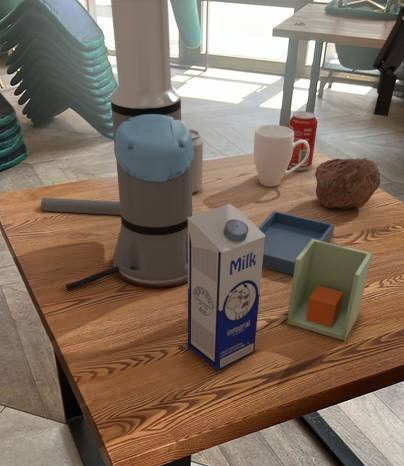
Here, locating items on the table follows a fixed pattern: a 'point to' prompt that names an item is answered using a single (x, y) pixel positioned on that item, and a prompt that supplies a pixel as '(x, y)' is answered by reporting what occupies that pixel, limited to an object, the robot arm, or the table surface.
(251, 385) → the table surface
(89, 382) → the table surface
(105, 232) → the table surface
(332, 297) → the block
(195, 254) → the milk carton
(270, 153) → the mug
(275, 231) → the tray
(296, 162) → the beverage can
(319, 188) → the decorative rock
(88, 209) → the half round rod
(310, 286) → the box
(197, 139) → the can
